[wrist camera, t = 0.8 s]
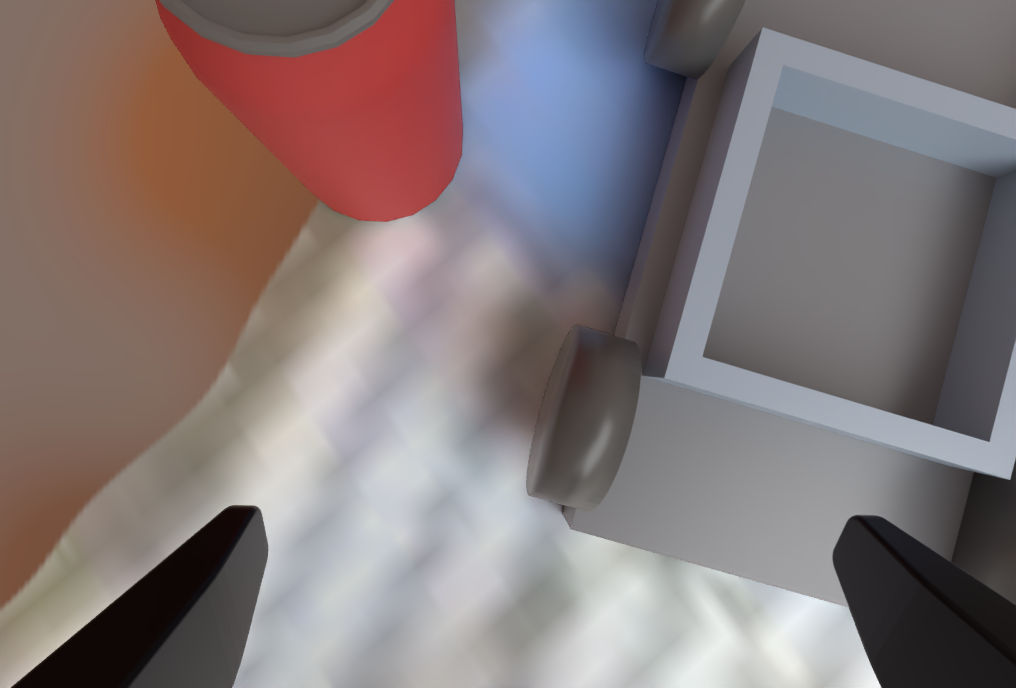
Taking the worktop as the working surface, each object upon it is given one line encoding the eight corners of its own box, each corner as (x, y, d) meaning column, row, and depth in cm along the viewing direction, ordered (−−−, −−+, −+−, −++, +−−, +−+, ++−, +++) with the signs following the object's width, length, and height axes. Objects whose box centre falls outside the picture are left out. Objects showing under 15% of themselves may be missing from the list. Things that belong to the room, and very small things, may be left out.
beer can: (385, 26, 23) (285, -335, 11) (498, 149, 23) (519, -76, 11) (259, 135, 23) (14, -116, 11) (374, 260, 23) (258, 149, 11)
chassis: (940, 621, 23) (1098, 710, 17) (513, 500, 23) (526, 550, 17) (1082, 63, 24) (1278, -34, 18) (678, -70, 24) (745, -216, 18)
